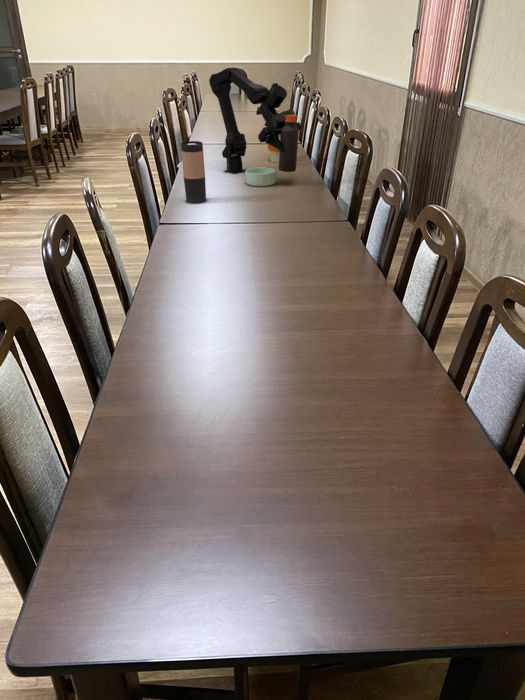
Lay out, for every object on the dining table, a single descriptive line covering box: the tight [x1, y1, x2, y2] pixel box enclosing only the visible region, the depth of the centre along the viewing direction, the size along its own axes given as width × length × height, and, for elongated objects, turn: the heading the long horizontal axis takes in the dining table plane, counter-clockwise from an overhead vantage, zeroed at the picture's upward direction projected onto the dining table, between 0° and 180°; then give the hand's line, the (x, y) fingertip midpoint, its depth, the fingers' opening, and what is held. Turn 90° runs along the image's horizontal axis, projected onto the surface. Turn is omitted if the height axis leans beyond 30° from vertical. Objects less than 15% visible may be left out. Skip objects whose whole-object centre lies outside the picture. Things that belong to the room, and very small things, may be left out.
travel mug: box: [180, 140, 207, 204], centre depth 191 cm, size 8×8×20 cm
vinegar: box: [278, 114, 300, 173], centre depth 206 cm, size 7×7×20 cm
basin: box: [244, 166, 277, 188], centre depth 215 cm, size 12×12×5 cm
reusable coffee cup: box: [266, 126, 281, 163], centre depth 251 cm, size 13×13×15 cm
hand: (290, 150), depth 206 cm, fingers closed on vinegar, 7 cm apart
